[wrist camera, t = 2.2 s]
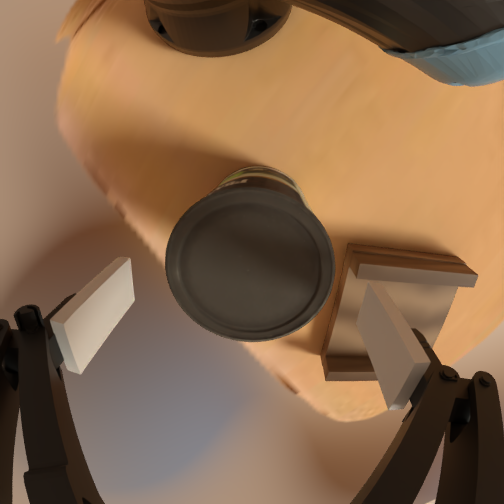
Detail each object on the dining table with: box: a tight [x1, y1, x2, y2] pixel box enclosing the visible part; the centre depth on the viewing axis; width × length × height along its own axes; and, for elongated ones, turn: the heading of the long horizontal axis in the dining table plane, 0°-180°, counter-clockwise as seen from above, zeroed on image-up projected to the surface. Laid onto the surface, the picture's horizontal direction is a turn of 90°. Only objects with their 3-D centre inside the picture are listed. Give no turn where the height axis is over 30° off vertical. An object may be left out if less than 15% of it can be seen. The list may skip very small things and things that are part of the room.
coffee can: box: [165, 166, 335, 342], centre depth 24 cm, size 10×10×14 cm
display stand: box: [321, 243, 478, 381], centre depth 31 cm, size 16×16×5 cm
